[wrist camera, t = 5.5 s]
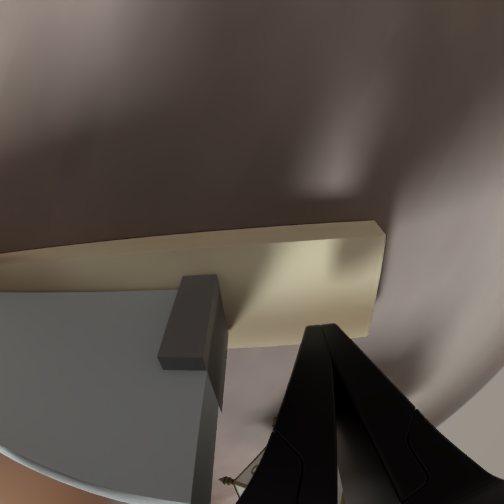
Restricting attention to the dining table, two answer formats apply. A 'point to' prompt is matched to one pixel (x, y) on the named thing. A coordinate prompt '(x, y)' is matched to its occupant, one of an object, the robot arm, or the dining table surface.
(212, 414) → the panel
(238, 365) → the dining table surface
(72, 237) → the dining table surface
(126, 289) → the rail
